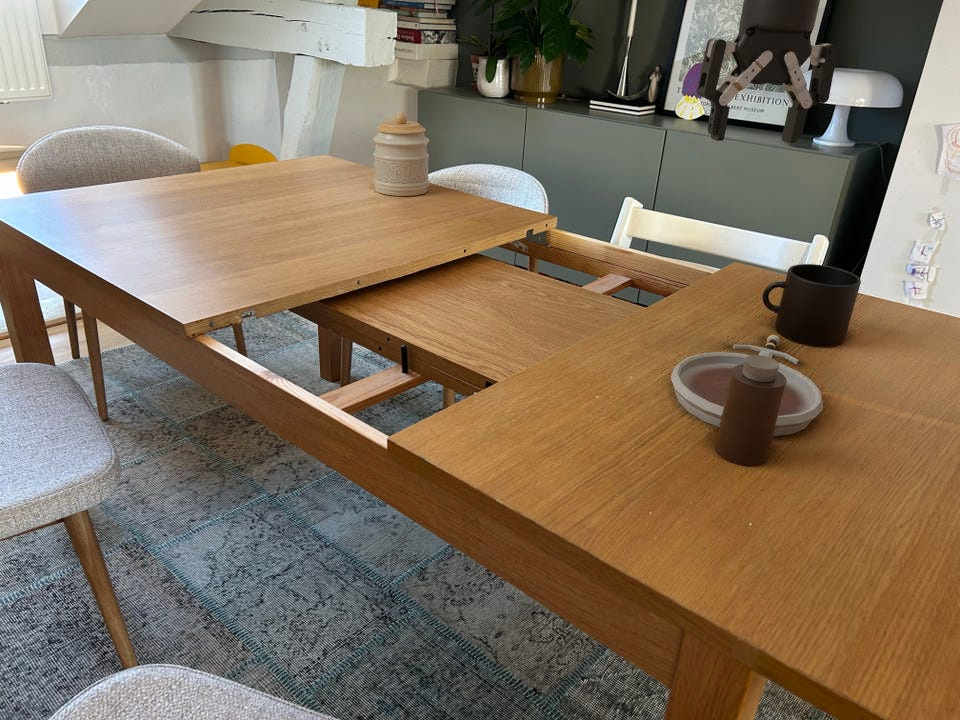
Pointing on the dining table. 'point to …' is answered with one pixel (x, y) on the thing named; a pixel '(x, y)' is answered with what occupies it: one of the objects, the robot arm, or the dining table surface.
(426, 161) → the jar
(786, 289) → the mug
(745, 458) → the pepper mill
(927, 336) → the dining table surface
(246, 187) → the dining table surface
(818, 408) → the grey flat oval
